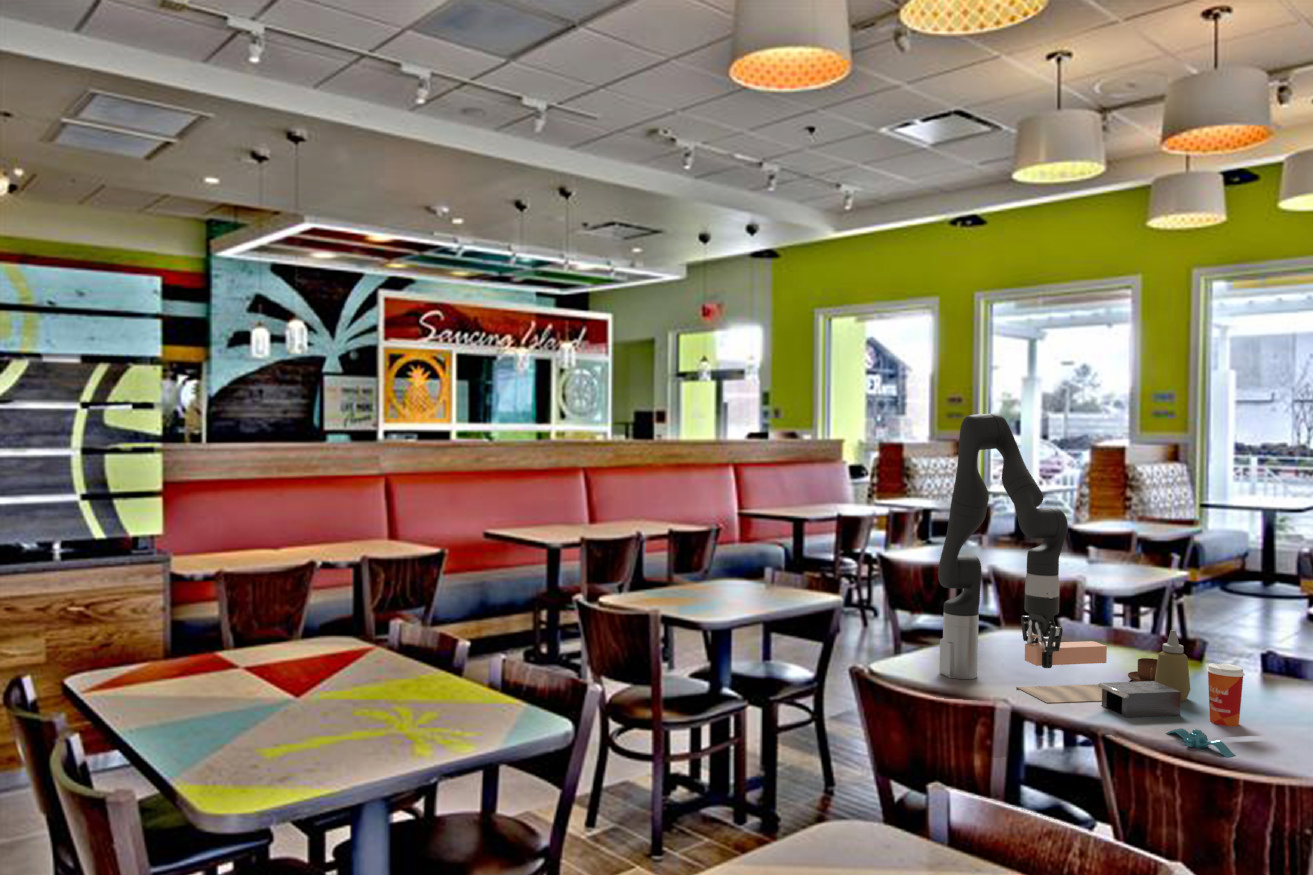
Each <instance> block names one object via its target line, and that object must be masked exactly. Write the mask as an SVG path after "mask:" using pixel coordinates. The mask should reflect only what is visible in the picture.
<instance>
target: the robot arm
mask: <svg viewBox="0 0 1313 875" xmlns="http://www.w3.org/2000/svg"><path fill="white" fill-rule="evenodd" d="M994 449H995V450H997V451H998V452H999V453H1000V456H1002V459H1003V461H1002V462H1003V464H1002V465H1003V466H1002V470H1001V482H1002V486H1003V489H1004V490H1005V492H1006V493H1007V496H1008V497H1009V498H1010V500H1011V502H1012V504H1013V505H1014V509H1015V514H1016V517H1017V521H1018V525H1019V528H1020V531H1021V532H1022V533H1023V534H1024V535H1025V536H1026V537H1028V538H1030V539H1042V541H1041V543H1040V545H1038V546H1036V547H1033V548H1030V549H1029V550H1028V551H1027V554H1026V576H1025V581H1024V611H1025V612H1026V613H1028V615H1021V617H1020V622H1021V623H1020V624H1021V630H1022V631H1021V632H1022V633H1021V634H1022V640H1023V642H1026V644H1029V643H1041V645H1042V650H1043V652H1042V666H1041V667H1042V668H1044V669H1051V668H1053V665H1052V655H1053V652H1054V651H1059V648H1060V643H1061V642H1062V636H1063V631H1064V630H1063V627H1062V626H1057V625H1056V622H1055V616H1057V615H1058V614H1059V613H1060V578H1059V577H1060V576H1059V572H1060V571H1059V570H1060V567H1059V566H1060V556H1061V552H1062V550H1063V546H1064V544H1065V540H1066V537H1067V534H1068V527H1069V524H1068V519H1067V516H1066V514H1065V513H1064V511H1062V510H1061V509H1059V508H1054V507H1053V508H1051V507H1050V508H1049V507H1048V508H1044V507H1043V508H1038V507H1039V506H1041V505H1042V503H1043V502H1044V494H1043V492H1042V490H1041V488H1040V487H1039V485H1038V483H1037V482H1036V480H1035V479H1034V477H1033V476H1032V474H1031V472H1030V471H1029V470H1028V468H1027V465H1026V463H1025V462H1024V459H1023V457H1022V454H1021V451H1020V449H1019V447H1018V443H1017V441H1016V438H1015V437H1014V434H1013V432H1012V429H1011V427H1010V424H1009V423H1008V421H1007V419H1006V418H1005V417H1004V416H1002V414H1000V413H993V412H992V413H991V412H990V413H980V414H969V415H967V416H965V417H964V418H963V419H962V422H961V425H960V429H959V438H958V451H957V452H958V453H957V463H956V464H957V466H956V474H955V479H954V486H953V490H952V496H951V500H950V501H951V503H950V508H949V516H948V523H947V531H946V535H945V539H944V543H943V547H942V549H941V550H942V551H941V554H940V559H939V562H938V563H939V564H938V570H937V577H938V582H939V584H940V586H941V587H943V588H946V589H955V590H956V589H957V590H958V589H962V590H963V591H962V592H961V593H960V594H958V595H957V596H955V597H952V598H950V599H947V600H946V601H944V603H943V624H942V625H943V628H942V638H940V639H939V673H940V674H941V675H943V676H946V677H947V678H948V679H959V680H960V679H961V680H971V679H976V678H977V677H978V670H979V669H978V667H979V666H978V665H979V664H978V663H979V661H978V660H979V658H978V655H979V653H978V652H979V620H980V619H979V615H980V614H979V613H980V605H981V604H980V603H981V590H982V589H981V588H982V587H981V585H982V577H983V576H982V575H983V574H982V572H983V570H982V564H981V560H980V558H979V557H978V555H977V556H976V555H973V554H960V551H961V549H962V548H963V546H964V544H965V543H966V542H967V540H969V538H970V537H971V536H972V535H973V534H974V533H975V532H976V531H977V530H978V529H979V528H980V527H981V525H982V524H983V522H984V521H985V519H986V516H987V511H988V505H989V500H990V499H989V497H990V496H989V495H990V494H989V490H988V488H987V486H986V484H985V482H984V480H983V478H982V476H981V475H980V472H979V469H978V456H979V453H980V451H983V450H994ZM1046 643H1048V644H1047V646H1046ZM1054 643H1055V646H1054Z"/></svg>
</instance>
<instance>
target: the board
mask: <svg viewBox="0 0 1313 875" xmlns="http://www.w3.org/2000/svg"><path fill="white" fill-rule="evenodd" d="M1098 684H1099V683H1095V684H1073V685H1072V684H1068V685H1064V684H1063V685H1041V686H1040V685H1037V686H1034V685H1033V686H1016V687H1015V688H1016V691H1022V692H1024V693H1025V694H1028V695H1029V696H1031V697H1033V698H1035V699H1037V700H1039V701H1041V702H1042V703H1044V704H1072V703H1073V704H1074V703H1077V704H1079V703H1102V688H1100V687H1099V686H1098Z"/></svg>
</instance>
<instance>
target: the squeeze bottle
mask: <svg viewBox="0 0 1313 875" xmlns="http://www.w3.org/2000/svg"><path fill="white" fill-rule="evenodd" d="M1184 648H1185V647H1184V645H1182V644H1180V642H1179V639H1178V634H1177V630H1175V629H1171V630H1170V632H1169V636H1168V639H1167V642H1165V643H1162V651H1160V652H1159V653H1157V654H1158V656H1157V659H1158V661H1157V668H1156V675H1155V682H1157V683H1160V684H1162V685H1165V686H1167V687H1170V688H1173V689H1175V690H1178V691H1180V692H1181V700H1180V702H1185V701H1187V699H1188V697H1189V694H1190V692H1191V683H1190V682H1191V681H1190V680H1191V679H1190V672H1189V671H1190V670H1189V659H1188V656H1187V655H1186V654H1185V653H1184Z"/></svg>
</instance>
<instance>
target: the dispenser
mask: <svg viewBox="0 0 1313 875" xmlns="http://www.w3.org/2000/svg"><path fill="white" fill-rule="evenodd" d="M1097 684H1098V686H1099V687H1100V688H1102V702H1101V705H1100V706H1102V707H1103V708H1105V709H1107V710H1110V711H1112V712H1114V713H1116V714H1117V715H1119V716H1123V717H1124V718H1127V719H1135V718H1137V719H1138V718H1160V717H1181V716H1182V715H1181V701H1180V700H1181V692H1180V691H1178V690H1175V689H1173V688H1170V687H1167V686H1165V685H1162V684H1160V683H1157V682H1155V681H1142V682H1134V681H1119V682H1118V681H1117V682H1116V681H1115V682H1114V681H1113V682H1099V683H1097Z"/></svg>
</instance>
